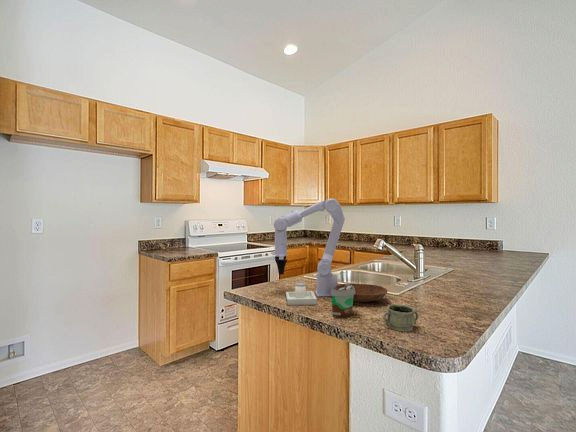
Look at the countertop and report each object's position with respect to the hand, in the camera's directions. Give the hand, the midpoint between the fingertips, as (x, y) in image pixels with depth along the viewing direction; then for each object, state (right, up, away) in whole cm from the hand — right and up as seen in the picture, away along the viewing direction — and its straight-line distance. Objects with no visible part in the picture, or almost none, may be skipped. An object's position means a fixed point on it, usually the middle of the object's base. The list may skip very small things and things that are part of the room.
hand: (280, 272), depth 142 cm
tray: (+9, -10, -13) cm, 19 cm away
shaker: (+9, -9, -13) cm, 18 cm away
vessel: (+41, -10, -43) cm, 60 cm away
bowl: (+35, -10, -12) cm, 38 cm away
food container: (+25, -10, -31) cm, 41 cm away
